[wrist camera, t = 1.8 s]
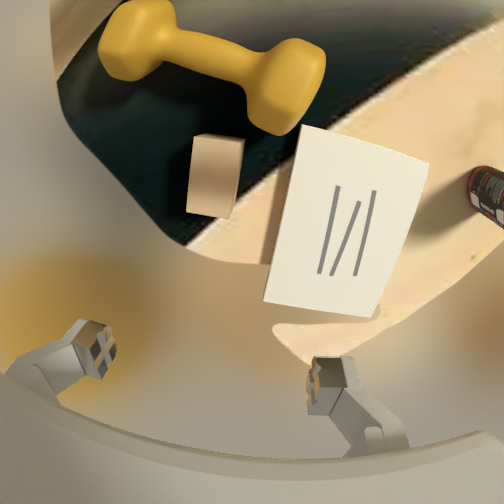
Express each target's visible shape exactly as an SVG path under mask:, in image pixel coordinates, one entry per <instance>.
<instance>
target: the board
mask: <svg viewBox="0 0 504 504" xmlns="http://www.w3.org/2000/svg"><path fill="white" fill-rule="evenodd" d="M429 166H430V164H429V163H426V162H424V161H421V160H419V159H416V158H414V157H411V156H408V155H406V154H403V153H400V152H397V151H394V150H392V149H389V148H386V147H383V146H380V145H376V144H373V143H370V142H367V141H364V140H360V139H357V138H354V137H350V136H346V135H343V134H339V133H335V132H332V131H328V130H324V129H320V128H316V127H311V126H307V125H302V124H301V126H300V131H299V136H298V141H297V146H296V150H295V155H294V160H293V165H292V170H291V174H290V179H289V184H288V188H287V193H286V198H285V202H284V207H283V211H282V216H281V220H280V225H279V229H278V234H277V238H276V243H275V247H274V251H273V256H272V260H271V264H270V269H269V273H268V278H267V282H266V286H265V291H264V296H263V301H264V302H269V303H275V304H281V305H287V306H293V307H300V308H306V309H313V310H320V311H326V312H333V313H340V314H347V315H355V316H363V317H370V318H371V316H372V314H373V312H374V309H375V308H376V306H377V304H378V302H379V300H380V297H381V295H382V293H383V291H384V289H385V287H386V285H387V282H388V280H389V278H390V276H391V273H392V271H393V269H394V266H395V264H396V262H397V259H398V257H399V254H400V252H401V249H402V247H403V244H404V242H405V239H406V237H407V234H408V231H409V229H410V226H411V223H412V220H413V218H414V215H415V212H416V209H417V206H418V203H419V200H420V197H421V194H422V190H423V187H424V184H425V181H426V177H427V174H428V170H429Z"/></svg>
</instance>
